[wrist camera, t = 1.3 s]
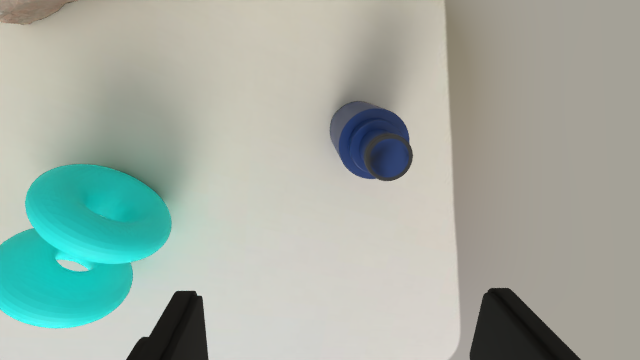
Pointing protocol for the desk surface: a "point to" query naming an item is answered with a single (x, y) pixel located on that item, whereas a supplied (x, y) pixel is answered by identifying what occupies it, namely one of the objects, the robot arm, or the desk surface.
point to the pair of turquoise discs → (79, 245)
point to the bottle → (371, 141)
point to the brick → (28, 10)
